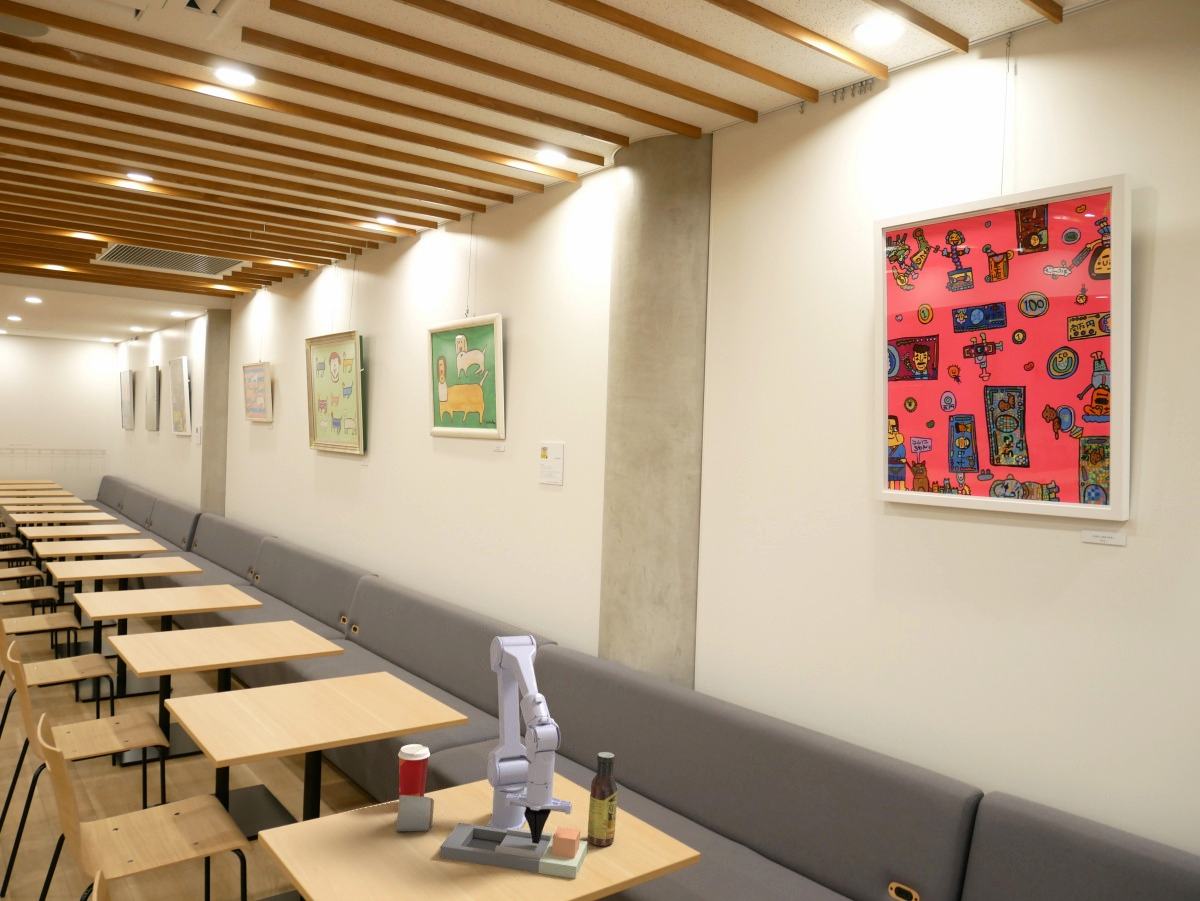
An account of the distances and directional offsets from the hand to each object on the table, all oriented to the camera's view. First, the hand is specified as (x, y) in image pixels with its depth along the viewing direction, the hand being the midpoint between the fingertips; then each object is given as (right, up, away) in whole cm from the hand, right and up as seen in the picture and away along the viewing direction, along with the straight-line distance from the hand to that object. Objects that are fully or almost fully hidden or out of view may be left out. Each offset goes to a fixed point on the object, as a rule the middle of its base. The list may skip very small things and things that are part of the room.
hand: (536, 841), depth 190 cm
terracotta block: (+6, -2, -1) cm, 7 cm away
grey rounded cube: (-30, -2, +12) cm, 32 cm away
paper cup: (-32, -2, +23) cm, 40 cm away
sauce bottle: (+14, -5, +10) cm, 18 cm away
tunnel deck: (-5, -3, +1) cm, 6 cm away
